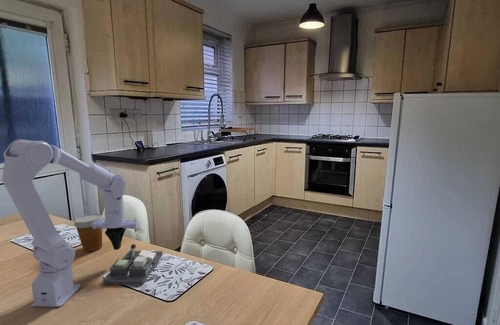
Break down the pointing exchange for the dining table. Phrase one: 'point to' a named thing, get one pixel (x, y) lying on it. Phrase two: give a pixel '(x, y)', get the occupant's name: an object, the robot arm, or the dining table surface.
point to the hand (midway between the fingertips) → (117, 248)
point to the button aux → (140, 261)
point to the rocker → (147, 254)
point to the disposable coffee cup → (89, 232)
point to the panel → (131, 270)
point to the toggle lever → (132, 250)
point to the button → (121, 263)
